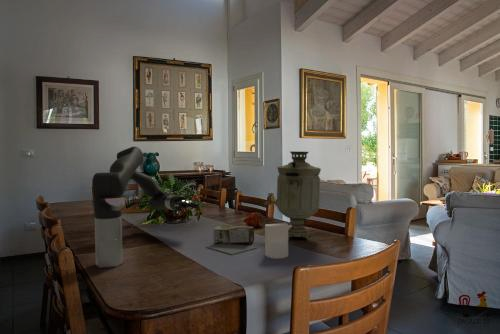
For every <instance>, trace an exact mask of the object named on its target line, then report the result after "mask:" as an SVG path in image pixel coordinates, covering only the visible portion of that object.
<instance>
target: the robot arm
mask: <svg viewBox="0 0 500 334" xmlns="http://www.w3.org/2000/svg"><path fill="white" fill-rule="evenodd" d="M144 161H145V159H144V153H143V151H142V149H141V148H140V147H138V146H131V147H128V148H126V149H123V150H120V151H119V152H117V153H116V160H115V161H113V163H112V164H111V166H110V167H109V172H96V173H94V175H93V177H92V181H91V186H92V187H91V189H92V198H93V199H92V200H93V211H94V243H95V245H94V246H95V247H94V249H95V266H96V267H98V269H100V268H114V267H115V268H116V267H118V266H120V265H121V264H123V261H124V260H123V259H124V255H123V225H122V224H123V219H122V218H123V217H122V215H123V214H122V213H123V212H122V209H121V208H120V207H118V206H116V205H112V204H110V203H109V202H108V201H106V199H118V198H121V197H122V196H123V195H124V194H125V192H126V189H127V187H128V183H129V182H130V180H131V179H132V180H133V181H134V182H135V183H136V184H137V185H138V186H139V187H140V189H141V191H143V194H144V195H146V197H148V198H149V200H148V207H149V208H150V209H152V210H153V211H162V210H167V209H168V210H170V211H175V212H183V211H185V210H187V209H199V203H198V201H197V200H193V201H192V200H189V199H187V198H186V197H185V196H184V195H178V194H167V192H165V191H163V190H162V189H160V188H159V187H158V185H157V184H156V182H155V180H154V179H153V178H152V177H150V176H149V175H148V174H146V173H143V172H140V171H138V168H139V167H140V166H141V165H143V164H144Z"/></svg>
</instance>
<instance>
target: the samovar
mask: <svg viewBox="0 0 500 334" xmlns="http://www.w3.org/2000/svg"><path fill="white" fill-rule="evenodd" d="M289 153H290V154H291V160H292V161H290V162H288V164H285V165H284V164H283V165H279V166H277V168H276V169H277V171H278V176H277V185H276V199H275V200H272V197H273V196H275V194H274V193H273V192H268V193H267V196H268V197H269V199H268V200H267V201H265V202H264V203H263V206H267V205H269V206H271V205H272V204H273V205H274V204H275V206H276V209H278V212H280V214H282V215H283V216H284V217H286V218H289V223H290V224H292V226H291V227H288V240H290V239H291V238H292V237H295V238H297V237H298V238H301V237H302V238H304V239H305V240H306V241H307V242H310V241H311V238H310V237H311V234H310V231H309V230H308V229H307V228H306V227H304V225H306V219H309V218H312V216H313V215H315V214H316V213H317V212H318V211H319V207H320V189H321V188H320V184H321V178H320V174H321V170H322V169H321V168H320V167H317V166H313V165H311V164H310V163H309V162H306V160H307V156H308V154H309V151H289ZM309 236H310V237H309Z"/></svg>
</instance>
